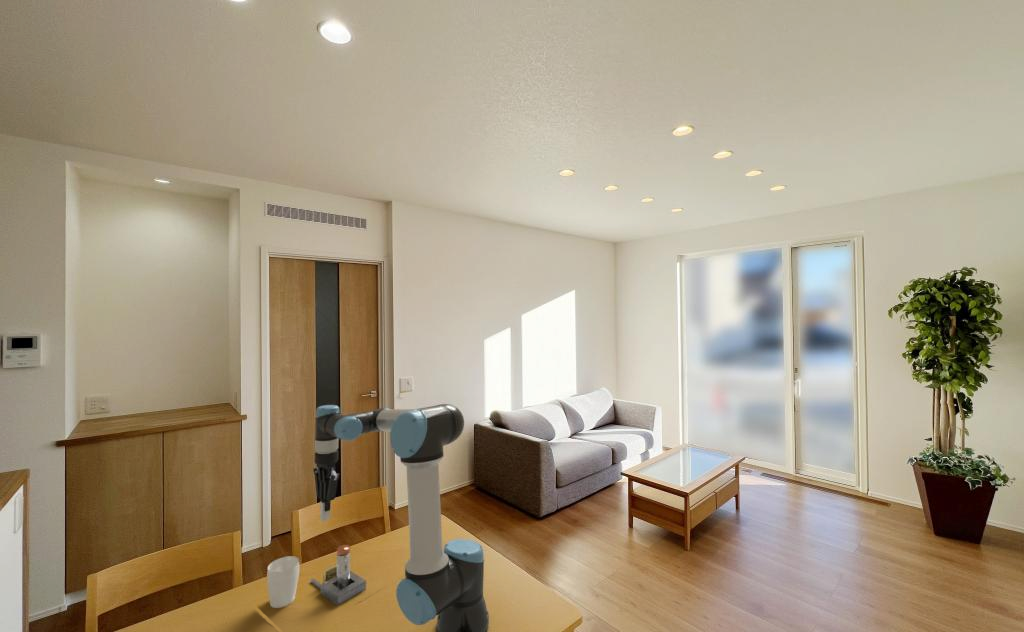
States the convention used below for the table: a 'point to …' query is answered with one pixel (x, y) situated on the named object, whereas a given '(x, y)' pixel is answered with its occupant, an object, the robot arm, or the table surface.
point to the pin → (343, 566)
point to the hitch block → (336, 594)
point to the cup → (282, 581)
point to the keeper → (329, 573)
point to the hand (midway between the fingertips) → (325, 519)
